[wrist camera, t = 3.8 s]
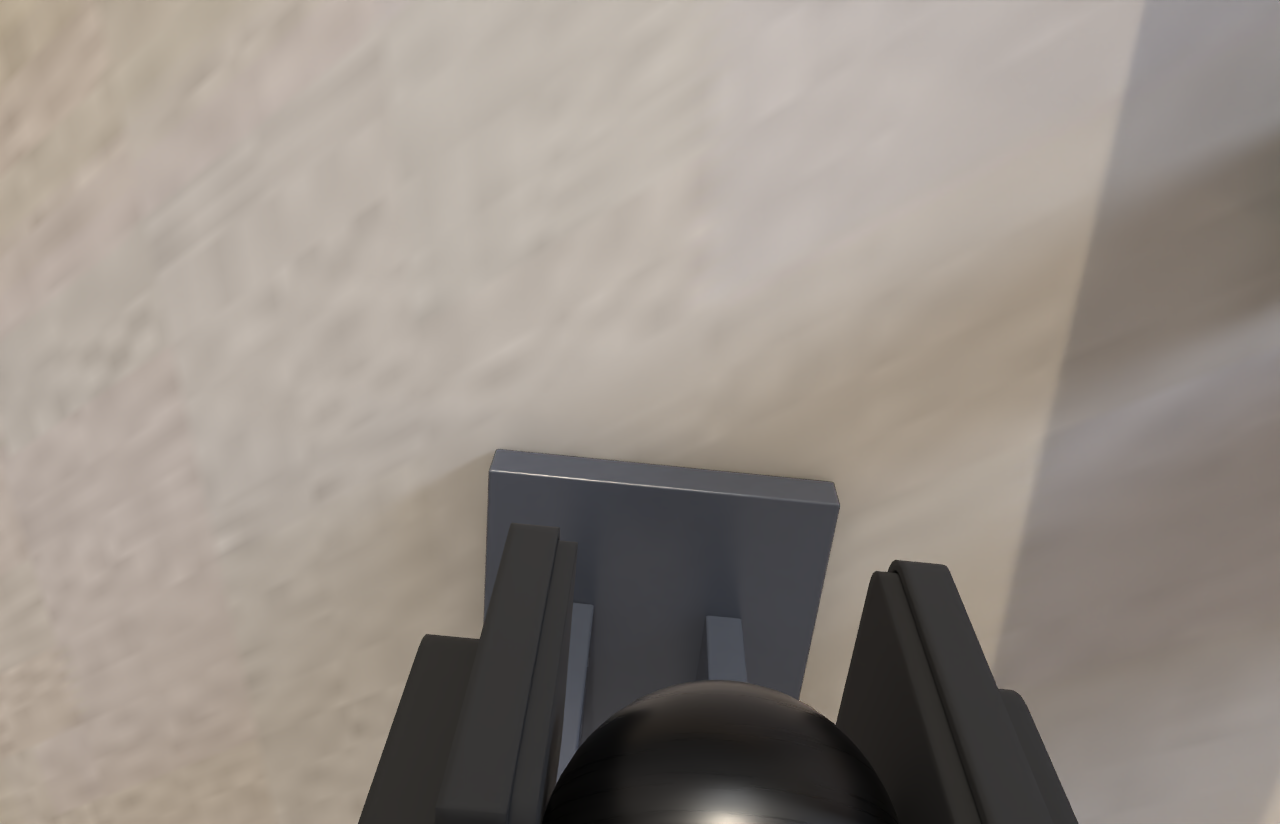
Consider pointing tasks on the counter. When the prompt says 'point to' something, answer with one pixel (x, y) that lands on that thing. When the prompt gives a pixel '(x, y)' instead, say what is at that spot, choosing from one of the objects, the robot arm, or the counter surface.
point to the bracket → (670, 573)
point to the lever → (719, 764)
